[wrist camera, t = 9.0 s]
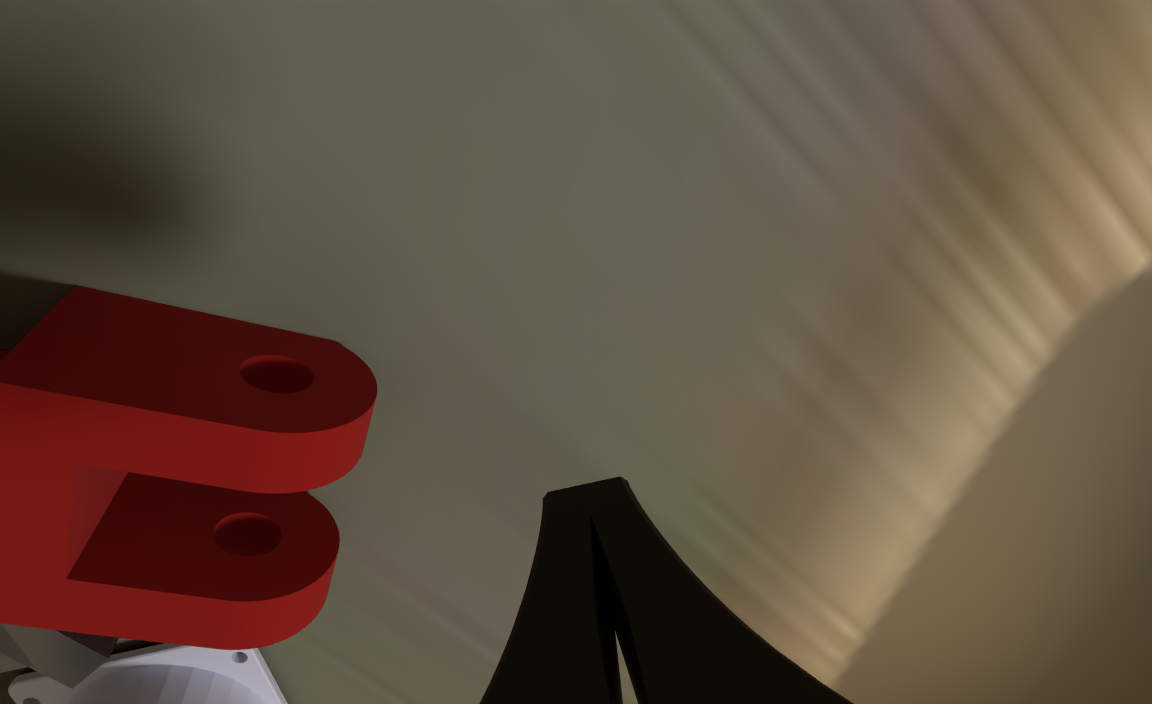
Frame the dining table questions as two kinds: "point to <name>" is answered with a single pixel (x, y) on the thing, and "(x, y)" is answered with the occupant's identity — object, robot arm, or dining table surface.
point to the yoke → (53, 652)
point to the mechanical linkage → (172, 472)
